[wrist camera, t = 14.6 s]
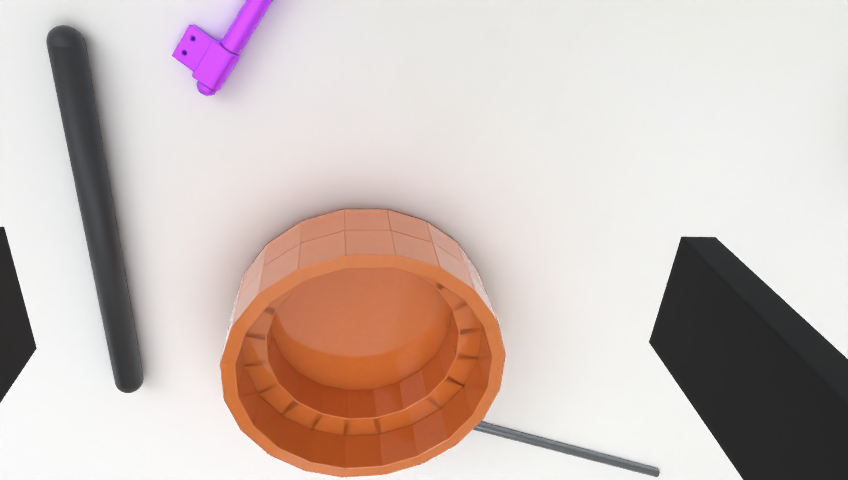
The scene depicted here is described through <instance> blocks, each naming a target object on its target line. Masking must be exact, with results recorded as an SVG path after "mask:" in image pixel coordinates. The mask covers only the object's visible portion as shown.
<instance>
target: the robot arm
mask: <svg viewBox="0 0 848 480" xmlns="http://www.w3.org/2000/svg"><path fill="white" fill-rule="evenodd" d="M649 343H650V344H651V346H652V347H653V349H654V350H655V351H656V353H657V354H658V356H659V357H660V359H661V360H662V362H663V363H664V365H665V366H666V368H667V369H668V370H669V372H670V373H671V375H672V376H673V378H674V379H675V381H676V382H677V384H678V385H679V386H680V388H681V389H682V391H683V392H684V394H685V395H686V397H687V398H688V400H689V401H690V403H691V404H692V405H693V407H694V408H695V410H696V411H697V413H698V414H699V416H700V417H701V419H702V420H703V422H704V423H705V424H706V426H707V427H708V429H709V430H710V432H711V433H712V435H713V436H714V438H715V439H716V440H717V442H718V443H719V445H720V446H721V448H722V449H723V451H724V452H725V454H726V455H727V457H728V458H729V459H730V461H731V462H732V464H733V465H734V467H735V468H736V470H737V471H738V473H739V474H740V476H741V477H742V478H743V480H848V359H847V358H846V357H845V356H844V355H842V354H841V353H840V352H839V351H838V350H837V349H836V348H835V347H834V346H833V345H832V344H831V343H829V342H828V341H827V340H826V339H825V338H824V337H823V336H822V335H821V334H820V333H819V332H818V331H816V330H815V329H814V328H813V327H812V326H811V325H810V324H809V323H808V322H807V321H806V320H805V319H803V318H802V317H801V316H800V315H799V314H798V313H797V312H796V311H795V310H794V309H793V308H791V307H790V306H789V305H788V304H787V303H786V302H785V301H784V300H783V299H782V298H781V297H780V296H778V295H777V294H776V293H775V292H774V291H773V290H772V289H771V288H770V287H769V286H768V285H767V284H765V283H764V282H763V281H762V280H761V279H760V278H759V277H758V276H757V275H756V274H755V273H754V272H752V271H751V270H750V269H749V268H748V267H747V266H746V265H745V264H744V263H743V262H742V261H740V260H739V259H738V258H737V257H736V256H735V255H734V254H733V253H732V252H731V251H730V250H729V249H727V248H726V247H725V246H724V245H723V244H722V243H721V242H720V241H719V240H718V239H717V238H716V237H681V240H680V243H679V247H678V250H677V253H676V256H675V260H674V263H673V266H672V269H671V273H670V276H669V279H668V282H667V286H666V289H665V292H664V296H663V299H662V302H661V305H660V309H659V312H658V315H657V318H656V322H655V325H654V328H653V331H652V335H651V338H650V341H649ZM35 350H36V344H35V341H34V337H33V333H32V330H31V326H30V322H29V318H28V315H27V311H26V307H25V303H24V300H23V296H22V292H21V288H20V285H19V281H18V277H17V273H16V270H15V266H14V262H13V259H12V255H11V251H10V247H9V244H8V240H7V236H6V232H5V229H4V227H0V402H1V401H2V399H3V398H4V396H5V395H6V393H7V392H8V390H9V389H10V387H11V386H12V384H13V383H14V381H15V380H16V378H17V377H18V375H19V374H20V372H21V371H22V369H23V368H24V366H25V365H26V363H27V362H28V360H29V359H30V357H31V356H32V354H33V353H34V351H35Z"/></svg>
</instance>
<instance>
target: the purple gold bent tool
mask: <svg viewBox="0 0 848 480" xmlns="http://www.w3.org/2000/svg"><path fill="white" fill-rule="evenodd" d="M271 2H272V0H246V2H245V3H244V5H243V7H242V8H241V10H240V12H239V13H238V15H237V17H236V18H235V20H234V22H233V23H232V25H231V27H230V28H229V30H228V32H227V33H226V35H225V37H224V38H223V40H214V39H213V38H211V37H210V36H209V35H207V34H206V33H205V32H203V31H202V30H201V29H199V28H198V27H197V26H195V25H190V26H189V27H188V29H187V31H186V32H185V34H184V36H183V38H182V39H181V41H180V43H179V44H178V46H177V48H176V50H175V51H174V53H173V55H172V56H173V57H175V58H176V59H177V60H179V61H180V62H181V63H183V64H184V65H186V66H187V67H188V68H190V69H191V70H192V71H194V72H193V74H192V76H193V77H194V78H195V79H197V80H198V81H197V88H198V91H199V92H200V93H201V94H203V95H205V96H210V95H214V94H215V93H216V91H218V90H220V88H221V87H222V85H223V83H224V82H225V80H226V79H227V77H228V75H229V74H230V72H231V70H232V69H233V67H234V66H235V64H236V62H237V61H238V59H239V58H240V52H241V51H242V49H243V47H244V46H245V44H246V43H247V41H248V39H249V38H250V36H251V34H252V33H253V31H254V30H255V28H256V26H257V25H258V23H259V21H260V20H261V18H262V17H263V15H264V13H265V12H266V10H267V8H268V7H269V5H270V4H271ZM194 37H195V40H194ZM185 51H186V52H187V55H186V53H185Z"/></svg>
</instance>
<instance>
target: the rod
mask: <svg viewBox="0 0 848 480" xmlns="http://www.w3.org/2000/svg"><path fill="white" fill-rule="evenodd" d="M472 430H476V431H480V432H484V433H488V434H492V435H496V436H499V437H503V438H507V439H511V440H515V441H519V442H523V443H527V444H530V445H534V446H538V447H542V448H546V449H550V450H554V451H557V452H561V453H565V454H569V455H573V456H577V457H581V458H585V459H588V460H592V461H596V462H600V463H604V464H608V465H612V466H615V467H619V468H623V469H627V470H631V471H635V472H639V473H642V474H646V475H650V476H654V477H658V476H659V469H658V468H655V467H651V466H647V465H643V464H639V463H636V462H632V461H628V460H624V459H621V458H617V457H613V456H609V455H605V454H602V453H598V452H594V451H590V450H587V449H583V448H579V447H575V446H571V445H568V444H564V443H560V442H556V441H553V440H549V439H545V438H541V437H537V436H534V435H530V434H526V433H522V432H518V431H515V430H511V429H507V428H503V427H500V426H496V425H492V424H488V423H484V422H480V423H479V424H478V425H477V426H476V427H474V428H473V429H472Z"/></svg>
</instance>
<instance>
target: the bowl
mask: <svg viewBox="0 0 848 480" xmlns="http://www.w3.org/2000/svg"><path fill="white" fill-rule="evenodd" d="M504 361H505V350H504V346H503V341H502V337H501V333H500V329H499V325H498V321H497V318H496V316H495V313H494V311H493V308H492V306H491V303H490V301H489V299H488V296H487V293H486V291H485V288H484V286H483V283H482V281H481V278H480V276H479V274H478V271H477V270H476V268H475V267H474V265H473V264H472V263H471V261H470V260H469V258H468V257H467V255H466V254H465V253H464V251H463V250H462V248H461V247H460V246H459V244H458V243H457V242H456V241H454V240H453V239H451V238H450V237H448V236H447V235H446V234H444V233H443V232H441V231H440V230H438V229H437V228H436V227H434V226H433V225H431V224H430V223H428V222H426V221H424V220H421V219H417V218H414V217H411V216H407V215H404V214H401V213H398V212H394V211H391V210H386V209H342V210H338V211H335V212H331V213H328V214H324V215H321V216H317V217H314V218H310V219H307V220H303V221H302V222H300V223H298V224H297V225H295V226H294V227H292V228H291V229H289V230H287V231H286V232H284V233H283V234H281V235H280V236H278V237H277V238H275V239H274V240H272V241H271V242H269V243H268V244H267V245H266V246H265V247H264V248H263V250H262V251H261V252H260V253H259V255H258V256H257V257H256V259H255V260H254V261H253V262H252V264H251V265H250V266H249V267H248V269H247V270H246V271H245V272H244V275H243V277H242V280H241V284H240V287H239V290H238V293H237V296H236V300H235V303H234V306H233V310H232V314H231V319H230V323H229V327H228V332H227V336H226V340H225V344H224V348H223V352H222V357H221V361H220V369H221V378H222V387H223V397H224V400H225V402H226V404H227V406H228V408H229V409H230V411H231V413H232V415H233V417H234V418H235V420H236V422H237V424H238V426H239V427H240V429H241V430H242V432H244V433H245V434H246V435H247V436H248V437H249V438H251V439H252V440H253V441H254V442H255V443H256V444H257V445H259V446H260V447H261V448H262V449H263V450H264V451H266V452H267V453H268V454H270V455H271V456H273V457H275V458H277V459H280V460H282V461H284V462H286V463H289V464H291V465H293V466H295V467H297V468H300V469H302V470H305V471H309V472H315V473H321V474H326V475H332V476H338V477H354V476H371V475H383V474H389V473H392V472H396V471H399V470H403V469H406V468H410V467H413V466H417V465H420V464H422V463H425V462H426V461H428V460H430V459H432V458H434V457H435V456H437V455H439V454H441V453H443V452H444V451H446V450H448V449H450V448H452V447H453V446H455V445H456V444H458V443H459V442H460V441H461V440H462V439H463V438H464V437H465V436H466V435H467V434H468V433H469V432H470V431H471V430H472V429H473V428H474V427H476V426H477V425H478V424H479V423H480V422H481V421H482V419H484V417H485V415H486V413H487V411H488V410H489V408H490V406H491V404H492V402H493V401H494V399H495V397H496V395H497V393H498V392H499V390H500V386H501V380H502V373H503V367H504Z"/></svg>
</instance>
